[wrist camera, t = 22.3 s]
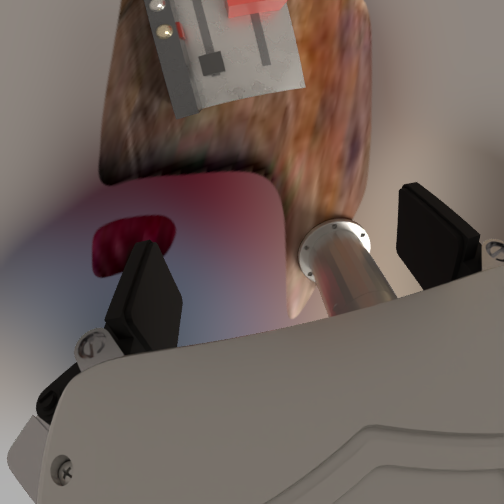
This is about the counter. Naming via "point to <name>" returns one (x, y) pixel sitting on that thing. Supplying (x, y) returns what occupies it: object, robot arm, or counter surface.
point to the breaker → (212, 63)
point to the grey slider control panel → (222, 52)
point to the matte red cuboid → (251, 6)
